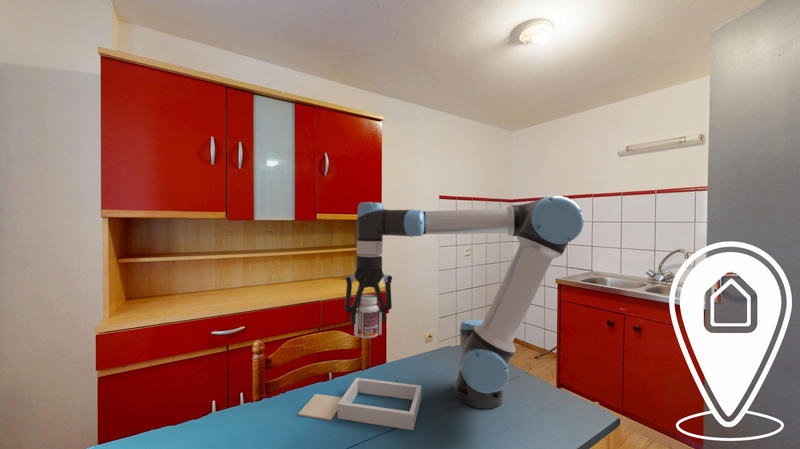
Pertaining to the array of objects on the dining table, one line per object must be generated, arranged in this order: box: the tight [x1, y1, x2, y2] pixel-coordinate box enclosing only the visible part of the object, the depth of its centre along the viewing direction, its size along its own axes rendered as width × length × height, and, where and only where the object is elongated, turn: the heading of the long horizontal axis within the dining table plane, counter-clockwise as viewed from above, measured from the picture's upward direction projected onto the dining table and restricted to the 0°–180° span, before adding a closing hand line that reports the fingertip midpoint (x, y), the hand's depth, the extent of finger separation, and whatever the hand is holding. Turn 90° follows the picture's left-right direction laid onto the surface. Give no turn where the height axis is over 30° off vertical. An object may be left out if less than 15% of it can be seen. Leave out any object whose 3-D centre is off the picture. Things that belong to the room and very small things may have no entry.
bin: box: [337, 377, 422, 431], centre depth 87 cm, size 21×14×4 cm
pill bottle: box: [357, 294, 380, 339], centre depth 87 cm, size 6×6×11 cm
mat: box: [297, 393, 342, 421], centre depth 87 cm, size 10×10×1 cm
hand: (367, 333), depth 87 cm, fingers closed on pill bottle, 6 cm apart
